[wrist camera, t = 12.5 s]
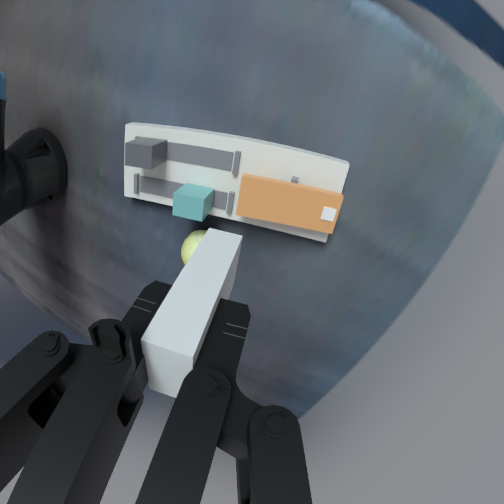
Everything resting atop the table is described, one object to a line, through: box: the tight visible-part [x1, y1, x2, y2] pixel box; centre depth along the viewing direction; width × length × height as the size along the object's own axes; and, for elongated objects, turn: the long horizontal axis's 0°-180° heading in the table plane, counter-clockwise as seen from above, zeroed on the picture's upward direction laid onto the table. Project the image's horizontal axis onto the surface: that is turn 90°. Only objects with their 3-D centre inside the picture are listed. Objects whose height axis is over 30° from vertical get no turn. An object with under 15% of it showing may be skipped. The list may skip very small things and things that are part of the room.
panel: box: [124, 122, 349, 243], centre depth 37 cm, size 30×11×3 cm, turn 80°
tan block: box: [236, 173, 344, 234], centre depth 35 cm, size 12×5×1 cm, turn 80°
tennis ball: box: [181, 230, 207, 265], centre depth 42 cm, size 6×7×7 cm
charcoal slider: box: [125, 137, 167, 170], centre depth 34 cm, size 4×3×4 cm
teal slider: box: [172, 183, 214, 222], centre depth 37 cm, size 4×3×4 cm
